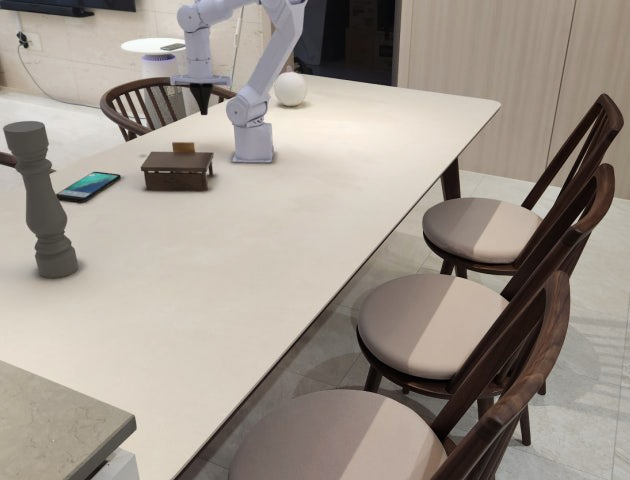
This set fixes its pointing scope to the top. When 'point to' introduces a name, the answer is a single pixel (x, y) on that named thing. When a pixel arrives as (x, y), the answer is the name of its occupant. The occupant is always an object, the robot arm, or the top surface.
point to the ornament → (290, 88)
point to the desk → (177, 164)
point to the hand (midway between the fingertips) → (204, 114)
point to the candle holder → (41, 199)
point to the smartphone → (88, 186)
